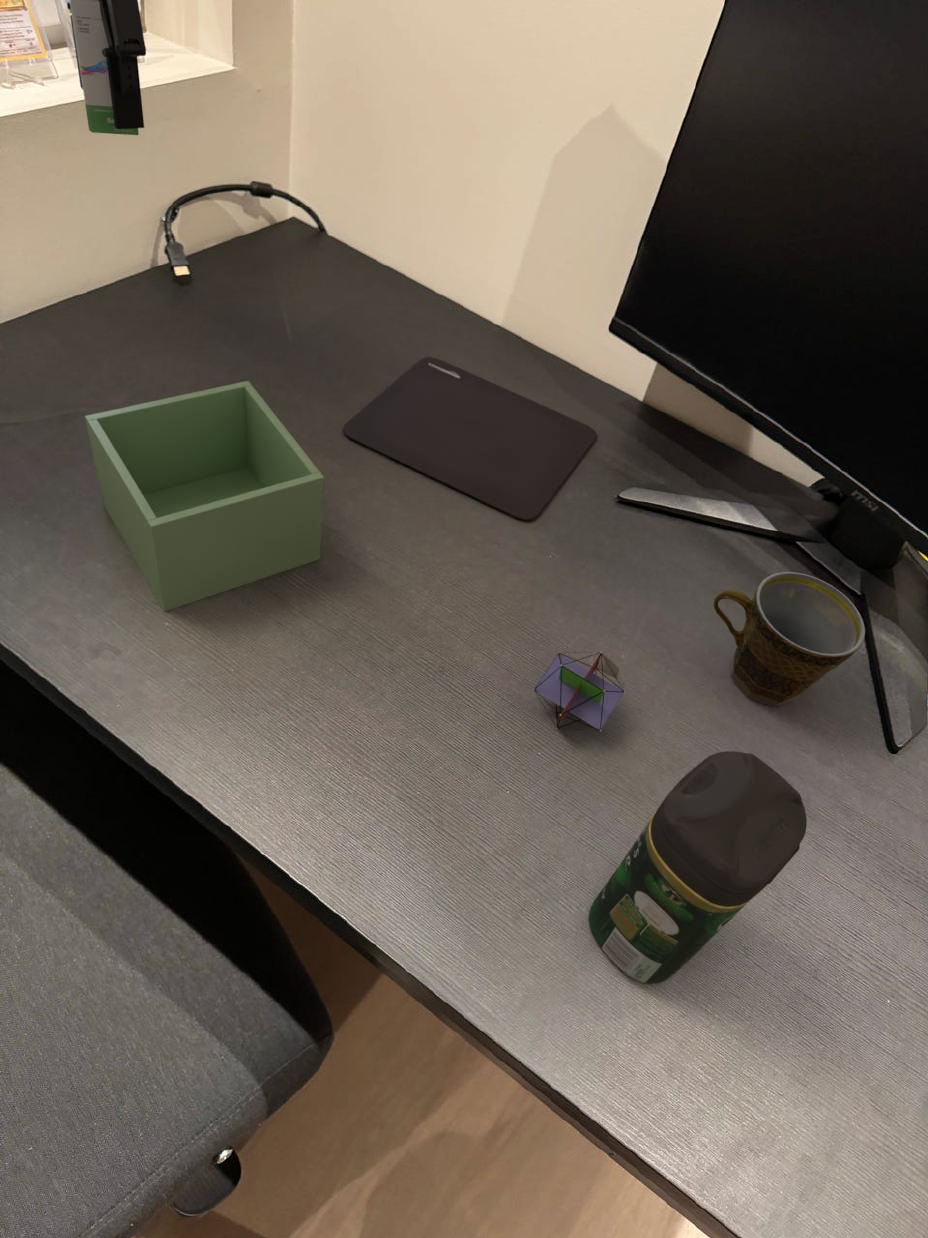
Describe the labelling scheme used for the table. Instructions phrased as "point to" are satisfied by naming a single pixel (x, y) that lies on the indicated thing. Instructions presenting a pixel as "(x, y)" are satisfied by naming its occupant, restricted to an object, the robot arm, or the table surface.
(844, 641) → the ceramic cup
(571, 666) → the geometric puzzle
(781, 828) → the coffee jar
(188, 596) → the open square box
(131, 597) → the table surface
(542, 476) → the mouse pad
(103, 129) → the ink box
